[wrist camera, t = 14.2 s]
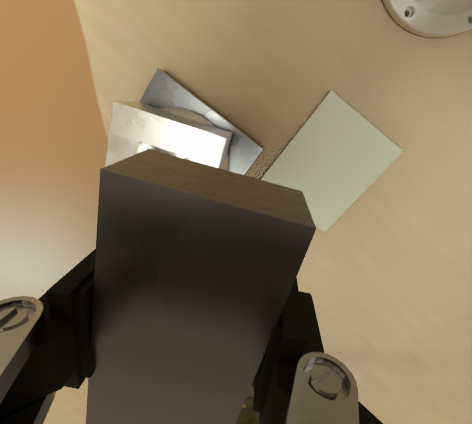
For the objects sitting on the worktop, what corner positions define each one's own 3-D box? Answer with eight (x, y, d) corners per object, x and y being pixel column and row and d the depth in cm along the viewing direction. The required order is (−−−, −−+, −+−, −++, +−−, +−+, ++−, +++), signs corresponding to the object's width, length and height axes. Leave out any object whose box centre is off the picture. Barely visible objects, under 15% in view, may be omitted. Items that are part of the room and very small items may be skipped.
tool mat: (330, 90, 28) (331, 90, 28) (400, 150, 30) (403, 150, 29) (258, 181, 32) (257, 183, 32) (323, 230, 34) (324, 232, 33)
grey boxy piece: (137, 92, 28) (104, 89, 22) (242, 127, 28) (236, 133, 22) (121, 192, 32) (89, 212, 26) (213, 222, 32) (202, 247, 26)
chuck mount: (164, 70, 29) (157, 68, 27) (263, 146, 31) (263, 149, 29) (110, 169, 33) (101, 172, 31) (199, 230, 35) (196, 237, 33)
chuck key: (203, 125, 14) (101, 168, 5) (286, 148, 14) (316, 228, 5) (175, 268, 18) (85, 432, 9) (241, 287, 18) (216, 469, 9)
